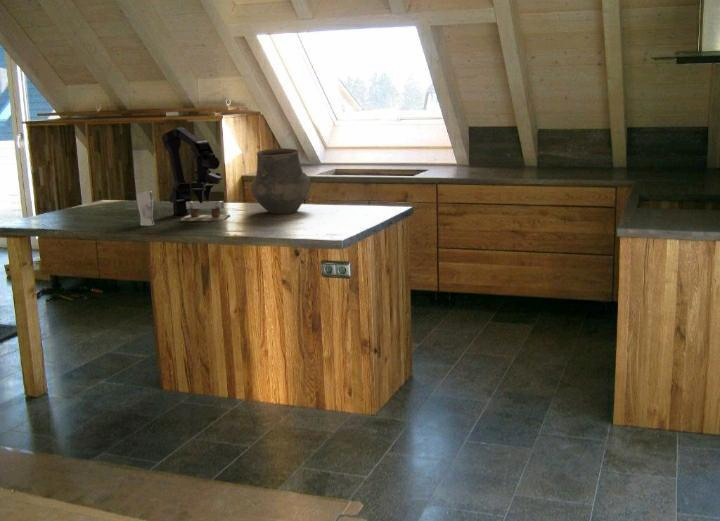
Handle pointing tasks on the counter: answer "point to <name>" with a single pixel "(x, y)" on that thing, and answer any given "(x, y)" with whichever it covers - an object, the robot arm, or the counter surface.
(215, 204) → the grey rod with balls
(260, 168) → the ceramic pot
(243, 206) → the counter surface
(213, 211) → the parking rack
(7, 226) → the counter surface
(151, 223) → the beer glass
